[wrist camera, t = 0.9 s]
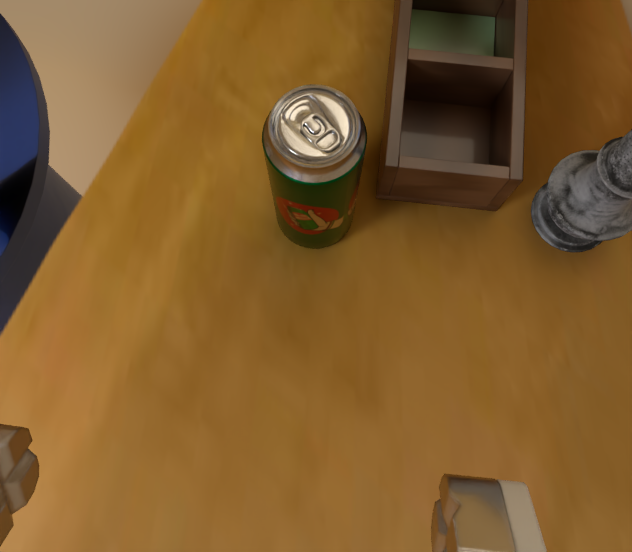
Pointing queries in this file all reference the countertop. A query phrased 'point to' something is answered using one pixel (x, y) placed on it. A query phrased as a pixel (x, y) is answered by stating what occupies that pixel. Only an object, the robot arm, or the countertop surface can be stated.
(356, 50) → the countertop surface
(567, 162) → the grey stacked stone piece
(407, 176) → the wooden compartment tray
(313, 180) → the soda can
